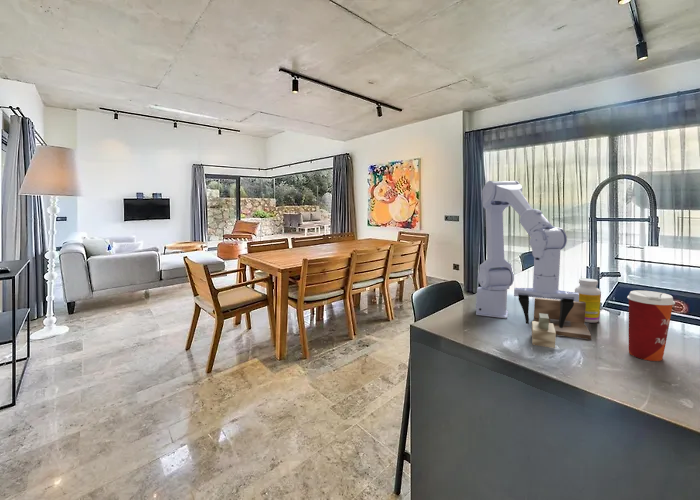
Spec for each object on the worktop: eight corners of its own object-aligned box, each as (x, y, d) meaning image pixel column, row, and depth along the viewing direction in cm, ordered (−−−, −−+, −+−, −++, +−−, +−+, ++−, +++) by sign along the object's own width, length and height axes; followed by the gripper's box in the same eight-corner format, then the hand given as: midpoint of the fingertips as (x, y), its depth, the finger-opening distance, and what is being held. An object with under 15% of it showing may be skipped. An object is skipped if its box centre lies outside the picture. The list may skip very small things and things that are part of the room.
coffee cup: (674, 366, 71) (681, 300, 70) (626, 358, 76) (631, 296, 74) (663, 352, 78) (669, 291, 77) (619, 345, 83) (624, 288, 81)
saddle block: (532, 344, 84) (533, 318, 84) (531, 334, 91) (532, 310, 90) (555, 348, 82) (556, 321, 81) (552, 337, 89) (553, 312, 88)
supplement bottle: (603, 324, 98) (606, 282, 96) (579, 323, 99) (581, 281, 98) (592, 316, 104) (594, 277, 103) (569, 316, 106) (571, 277, 104)
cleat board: (535, 332, 93) (536, 307, 92) (533, 319, 103) (534, 297, 102) (591, 339, 87) (592, 313, 86) (583, 325, 97) (584, 301, 96)
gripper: (514, 275, 84) (512, 325, 86) (582, 279, 78) (579, 334, 79) (515, 270, 91) (513, 317, 92) (577, 274, 84) (574, 324, 85)
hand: (543, 324), depth 86 cm, fingers open, 7 cm apart
